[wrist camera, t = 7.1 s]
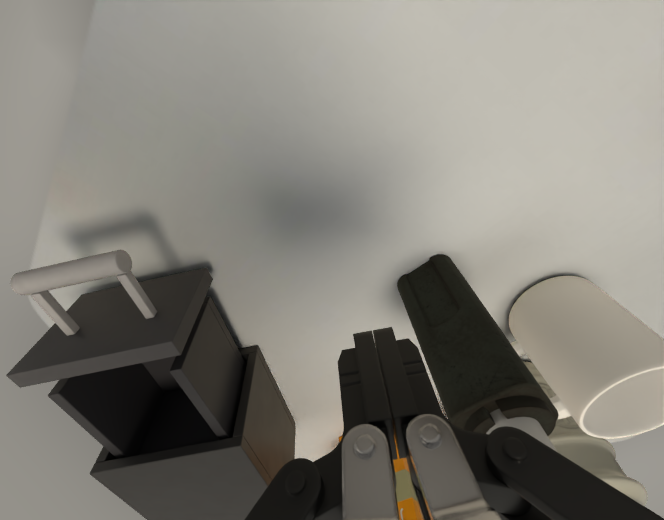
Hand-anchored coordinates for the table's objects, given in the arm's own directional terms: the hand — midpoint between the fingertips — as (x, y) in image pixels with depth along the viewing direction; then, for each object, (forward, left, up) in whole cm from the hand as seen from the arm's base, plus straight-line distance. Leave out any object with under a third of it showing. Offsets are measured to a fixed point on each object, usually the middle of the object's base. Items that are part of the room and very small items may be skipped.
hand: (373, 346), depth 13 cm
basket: (+11, -13, -13) cm, 22 cm away
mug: (+9, +20, -14) cm, 26 cm away
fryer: (+23, -9, -14) cm, 29 cm away
